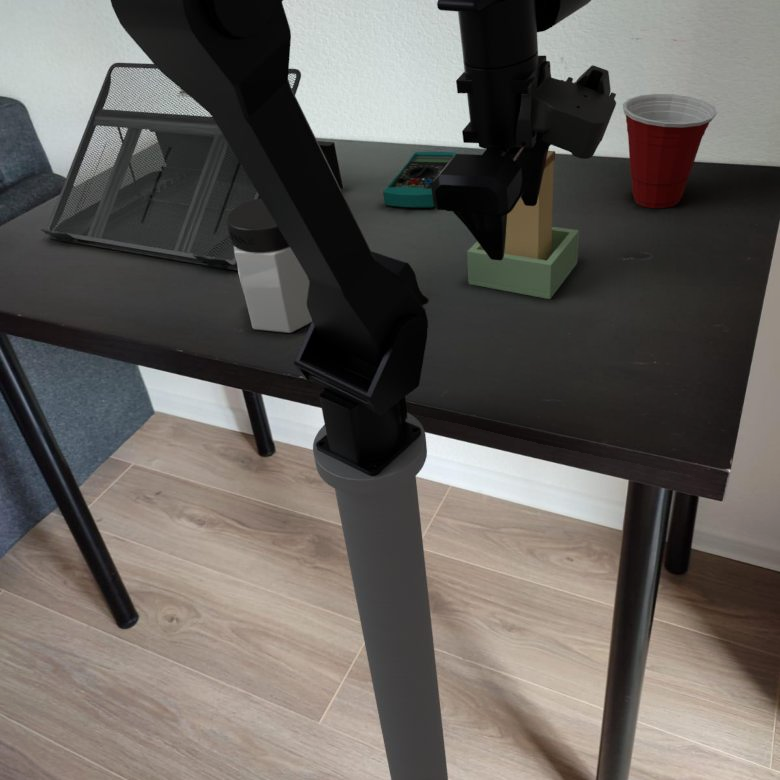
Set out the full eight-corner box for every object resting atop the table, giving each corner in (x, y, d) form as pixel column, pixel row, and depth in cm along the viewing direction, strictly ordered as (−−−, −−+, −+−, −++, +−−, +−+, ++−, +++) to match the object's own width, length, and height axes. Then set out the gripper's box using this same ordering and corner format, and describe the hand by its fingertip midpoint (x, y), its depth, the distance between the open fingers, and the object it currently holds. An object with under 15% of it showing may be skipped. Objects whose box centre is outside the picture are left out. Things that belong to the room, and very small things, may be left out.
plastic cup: (701, 220, 94) (716, 120, 87) (609, 215, 97) (616, 118, 90) (705, 185, 102) (719, 91, 94) (620, 181, 105) (628, 90, 98)
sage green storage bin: (550, 299, 82) (551, 265, 80) (468, 284, 87) (466, 251, 84) (577, 263, 88) (579, 230, 86) (499, 250, 92) (498, 218, 90)
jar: (247, 300, 89) (224, 202, 82) (318, 287, 90) (300, 189, 82) (252, 341, 82) (226, 237, 74) (328, 326, 82) (310, 222, 75)
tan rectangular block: (538, 281, 85) (540, 165, 77) (494, 273, 87) (492, 160, 79) (552, 264, 87) (555, 151, 80) (509, 257, 90) (508, 146, 82)
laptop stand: (42, 243, 107) (-12, 110, 97) (172, 169, 127) (140, 51, 116) (232, 277, 94) (195, 125, 83) (346, 188, 113) (328, 55, 102)
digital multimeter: (382, 209, 106) (380, 189, 104) (414, 168, 117) (413, 148, 115) (433, 212, 103) (432, 191, 102) (462, 169, 114) (461, 150, 113)
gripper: (569, 108, 50) (573, 302, 61) (635, 8, 62) (630, 185, 72) (414, 106, 55) (443, 286, 65) (503, 13, 67) (515, 178, 77)
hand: (514, 231), depth 70 cm, fingers open, 9 cm apart
